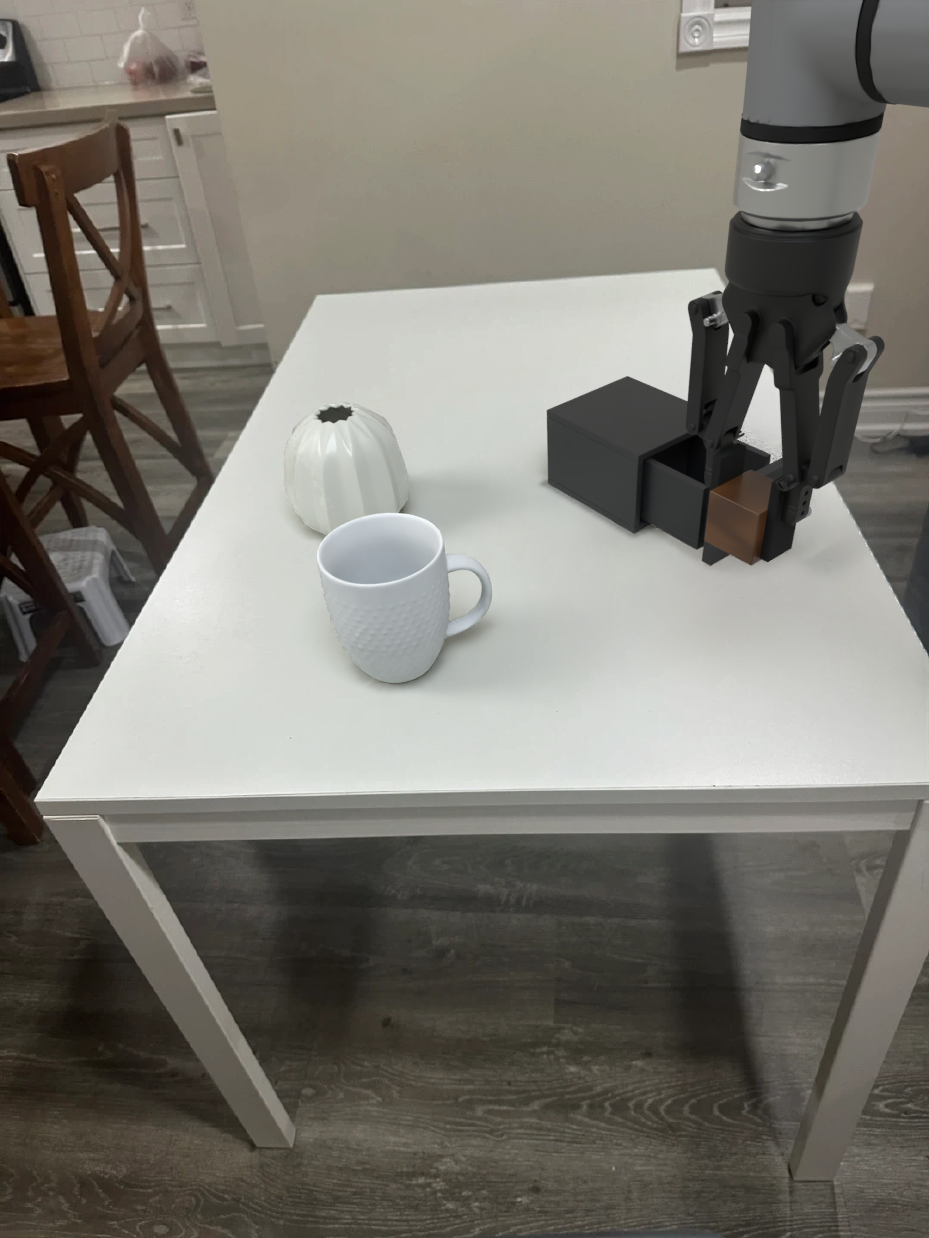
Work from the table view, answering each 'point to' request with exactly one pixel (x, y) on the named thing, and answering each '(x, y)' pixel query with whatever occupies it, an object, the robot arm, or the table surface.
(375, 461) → the vase
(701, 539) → the drawer
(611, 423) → the cabinet
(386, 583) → the mug
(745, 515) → the block
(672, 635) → the table surface
